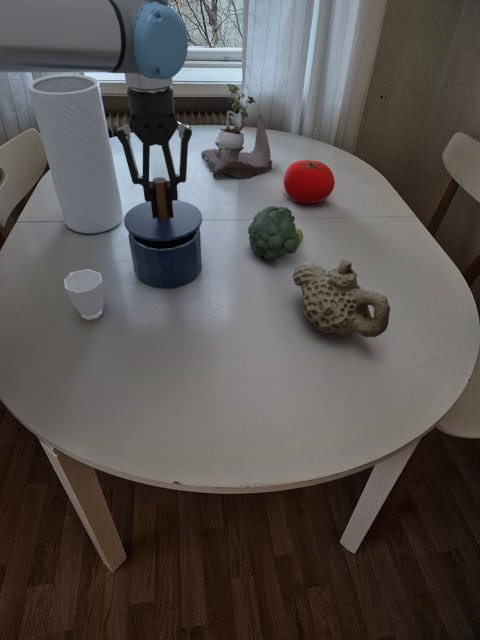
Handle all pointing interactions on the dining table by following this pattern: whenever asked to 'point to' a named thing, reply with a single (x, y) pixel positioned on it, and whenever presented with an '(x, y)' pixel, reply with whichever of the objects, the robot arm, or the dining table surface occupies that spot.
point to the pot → (167, 260)
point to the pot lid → (162, 217)
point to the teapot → (340, 300)
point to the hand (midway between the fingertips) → (163, 214)
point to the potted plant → (239, 145)
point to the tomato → (308, 181)
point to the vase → (78, 150)
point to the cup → (86, 292)
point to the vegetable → (274, 233)
